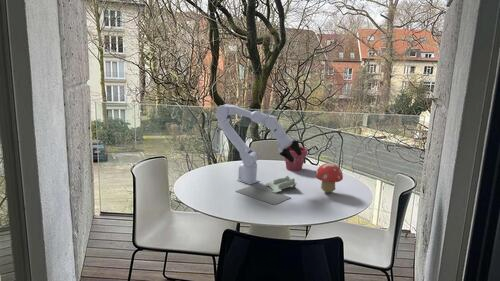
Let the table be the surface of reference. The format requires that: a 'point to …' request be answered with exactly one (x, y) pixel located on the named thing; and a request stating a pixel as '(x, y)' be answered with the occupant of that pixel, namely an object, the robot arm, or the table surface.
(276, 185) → the metal bracket
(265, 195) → the rubber mat
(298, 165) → the plant pot
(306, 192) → the table surface
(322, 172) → the decorative mushroom
